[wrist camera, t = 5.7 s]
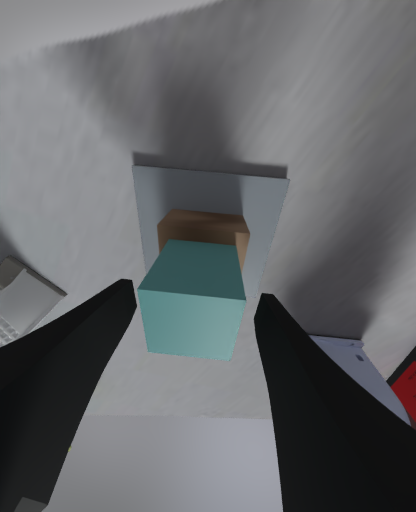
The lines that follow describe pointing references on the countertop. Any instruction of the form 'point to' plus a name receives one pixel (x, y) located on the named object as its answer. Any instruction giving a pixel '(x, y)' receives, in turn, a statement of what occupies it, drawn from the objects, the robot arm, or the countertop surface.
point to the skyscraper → (23, 300)
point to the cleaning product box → (406, 385)
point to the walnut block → (205, 229)
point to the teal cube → (193, 300)
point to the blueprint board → (211, 208)
